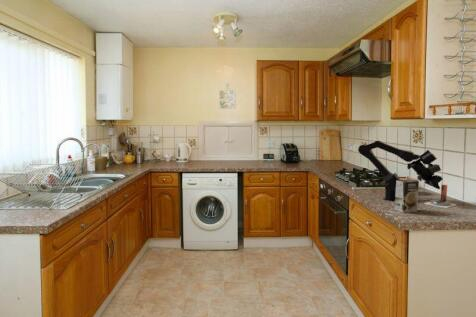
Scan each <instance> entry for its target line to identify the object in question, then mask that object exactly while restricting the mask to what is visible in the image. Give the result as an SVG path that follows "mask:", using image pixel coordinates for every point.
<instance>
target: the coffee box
mask: <svg viewBox="0 0 476 317" xmlns="http://www.w3.org/2000/svg"><path fill="white" fill-rule="evenodd" d="M419 184H420V181H419V180H418V181H414V180H396V195H395V201H394V211H396V210H397V212H400V213H402V214H404V213H415V212H416V213H417V212H418V201H419V200H418V199H419Z"/></svg>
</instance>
